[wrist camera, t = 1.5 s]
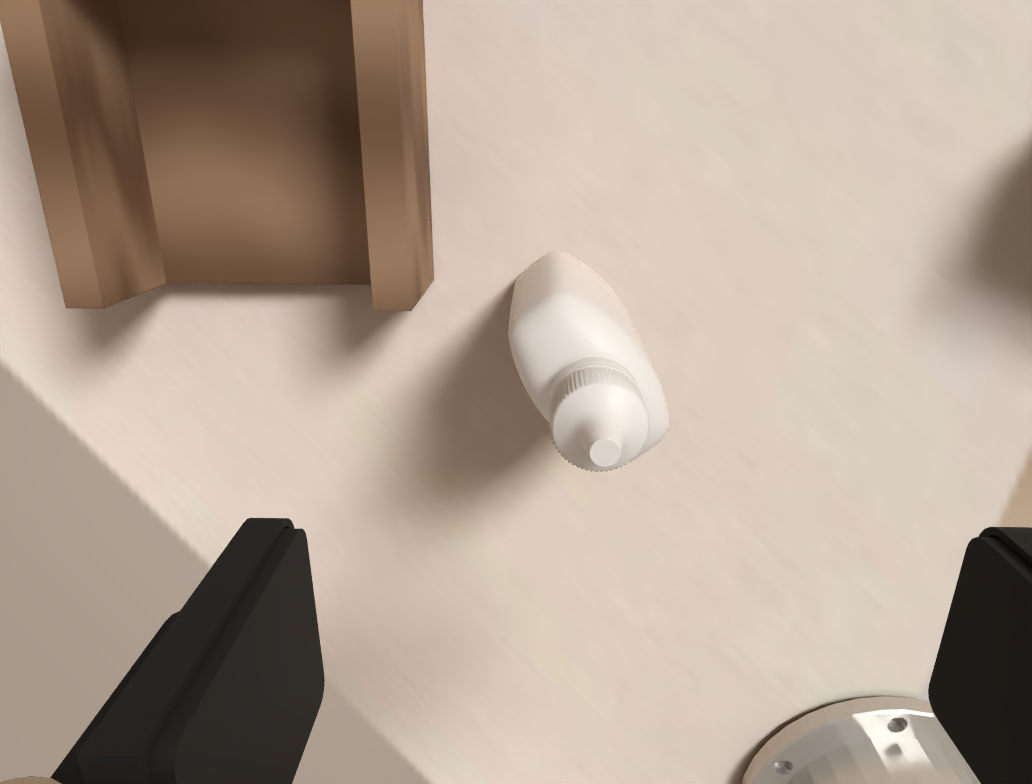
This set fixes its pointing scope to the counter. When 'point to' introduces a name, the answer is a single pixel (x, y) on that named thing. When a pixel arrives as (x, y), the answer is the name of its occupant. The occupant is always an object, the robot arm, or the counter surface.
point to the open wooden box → (227, 142)
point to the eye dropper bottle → (584, 365)
